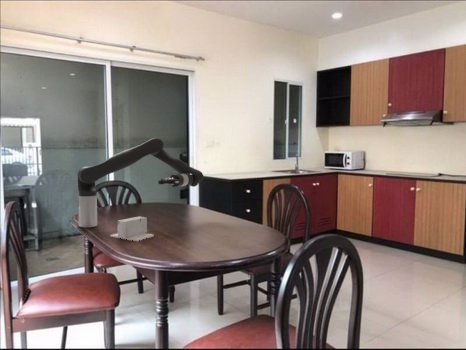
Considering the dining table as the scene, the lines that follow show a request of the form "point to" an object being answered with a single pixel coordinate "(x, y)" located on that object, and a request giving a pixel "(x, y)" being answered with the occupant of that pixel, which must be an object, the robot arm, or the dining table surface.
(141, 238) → the mat
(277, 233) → the dining table surface
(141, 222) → the skincare box
